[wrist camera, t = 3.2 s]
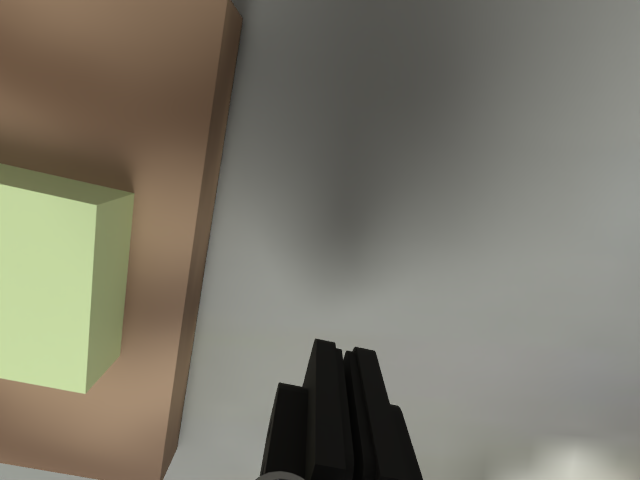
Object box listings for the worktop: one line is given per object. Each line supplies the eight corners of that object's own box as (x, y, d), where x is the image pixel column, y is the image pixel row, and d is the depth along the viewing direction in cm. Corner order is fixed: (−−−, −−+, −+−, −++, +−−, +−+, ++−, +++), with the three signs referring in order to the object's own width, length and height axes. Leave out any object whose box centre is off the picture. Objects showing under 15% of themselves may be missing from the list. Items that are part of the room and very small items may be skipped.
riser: (-149, -84, 11) (-249, -131, 9) (242, 18, 12) (227, -5, 10) (-97, 399, 16) (-155, 436, 14) (177, 448, 17) (158, 489, 15)
